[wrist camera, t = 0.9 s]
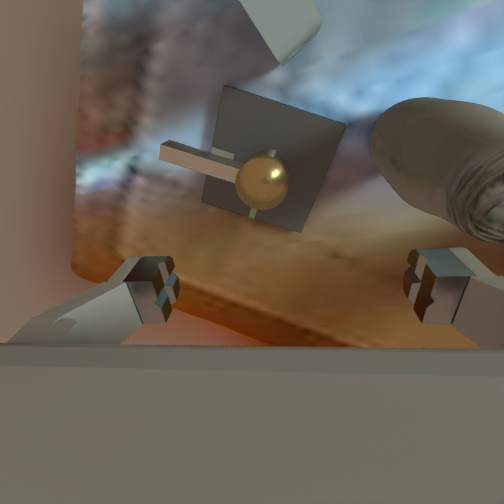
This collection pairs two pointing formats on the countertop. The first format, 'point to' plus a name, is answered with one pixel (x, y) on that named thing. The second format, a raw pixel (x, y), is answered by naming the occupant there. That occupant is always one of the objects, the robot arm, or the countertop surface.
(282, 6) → the bar with end hole
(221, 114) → the plate
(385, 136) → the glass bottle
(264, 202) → the gold knob with bar
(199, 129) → the countertop surface
